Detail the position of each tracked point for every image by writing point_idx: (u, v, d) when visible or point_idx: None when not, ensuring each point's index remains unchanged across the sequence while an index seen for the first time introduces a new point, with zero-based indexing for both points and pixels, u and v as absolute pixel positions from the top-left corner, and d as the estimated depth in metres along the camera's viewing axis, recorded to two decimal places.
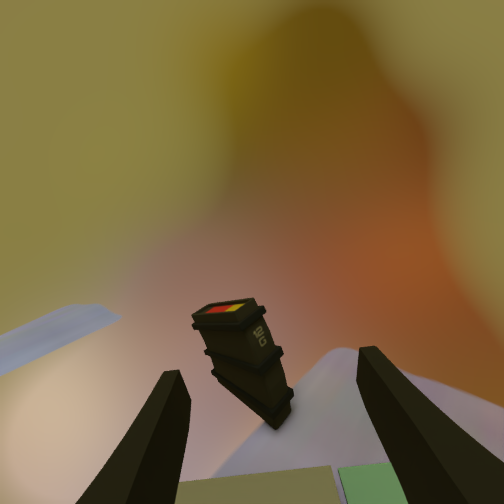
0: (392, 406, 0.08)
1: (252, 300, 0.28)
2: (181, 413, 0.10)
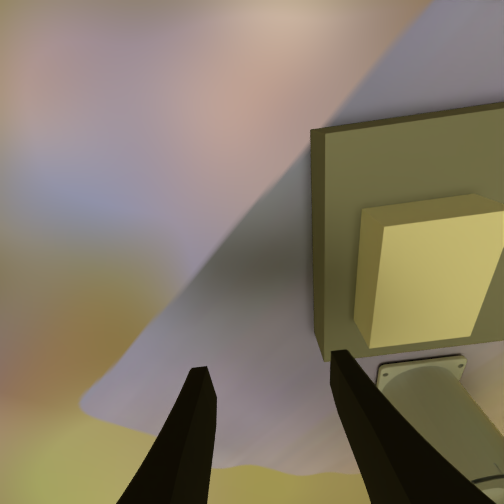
0: (356, 410, 0.08)
1: None
2: (210, 410, 0.10)
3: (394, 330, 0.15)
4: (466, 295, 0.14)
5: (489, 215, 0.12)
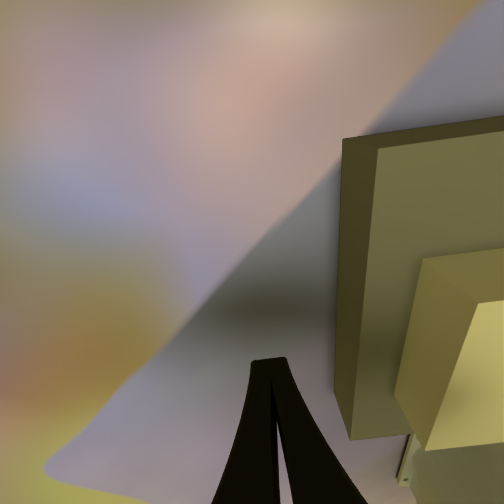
0: (279, 419, 0.08)
1: None
2: (273, 402, 0.10)
3: (464, 430, 0.10)
4: None
5: None
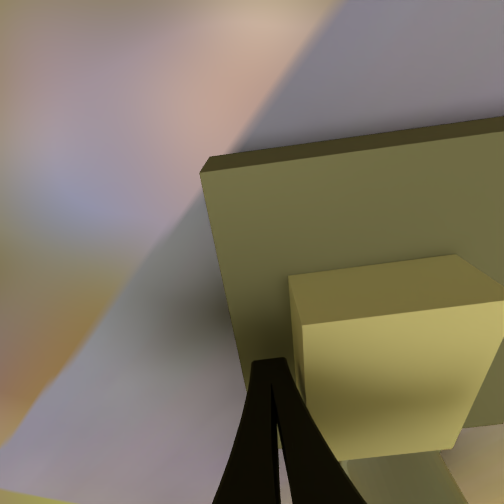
0: (278, 419, 0.08)
1: None
2: None
3: (341, 445, 0.10)
4: (443, 405, 0.09)
5: (474, 307, 0.07)
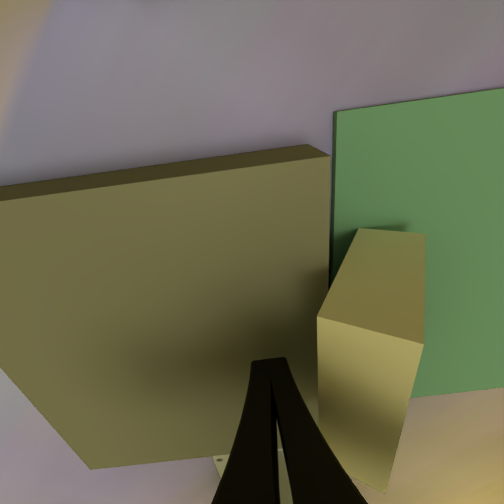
0: (279, 419, 0.08)
1: None
2: (273, 402, 0.10)
3: None
4: None
5: None
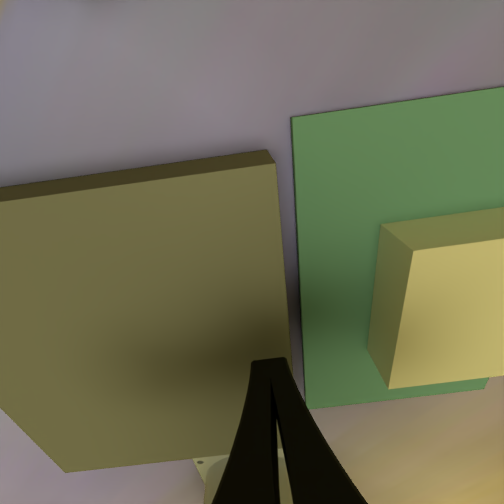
0: (278, 419, 0.08)
1: None
2: (273, 402, 0.10)
3: None
4: None
5: None
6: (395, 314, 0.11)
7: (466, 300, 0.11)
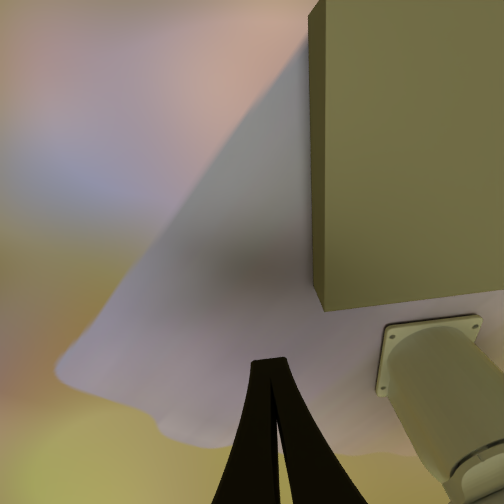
0: (279, 419, 0.08)
1: None
2: (273, 402, 0.10)
3: None
4: None
5: None
6: None
7: None
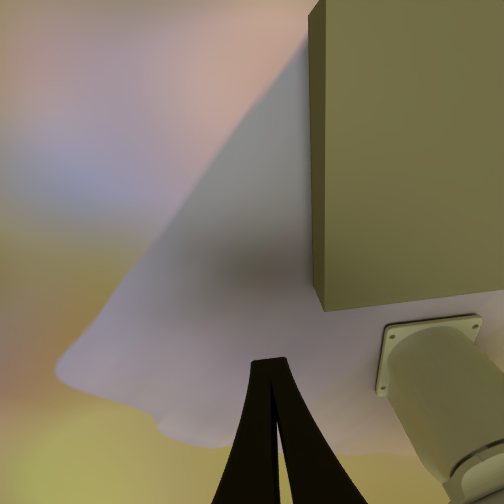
0: (279, 419, 0.08)
1: None
2: (273, 402, 0.10)
3: None
4: None
5: None
6: None
7: None
